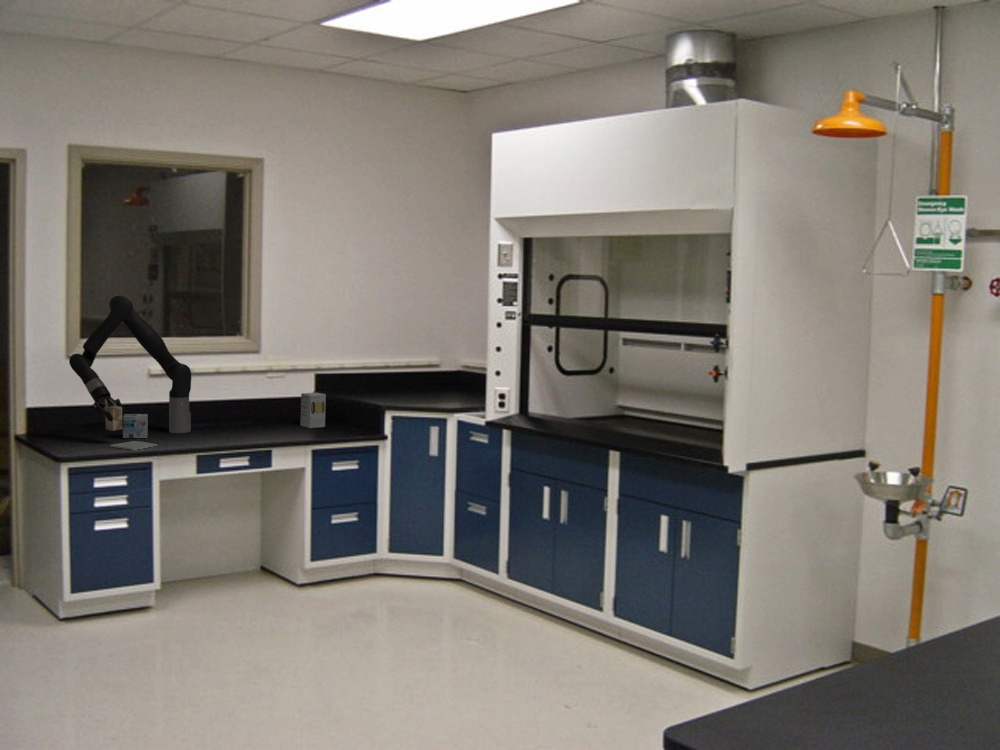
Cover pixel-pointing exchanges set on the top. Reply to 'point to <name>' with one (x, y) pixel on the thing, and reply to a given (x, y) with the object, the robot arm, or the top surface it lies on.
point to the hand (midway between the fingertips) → (116, 419)
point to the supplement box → (313, 410)
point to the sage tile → (133, 445)
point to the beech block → (114, 418)
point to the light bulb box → (135, 425)
